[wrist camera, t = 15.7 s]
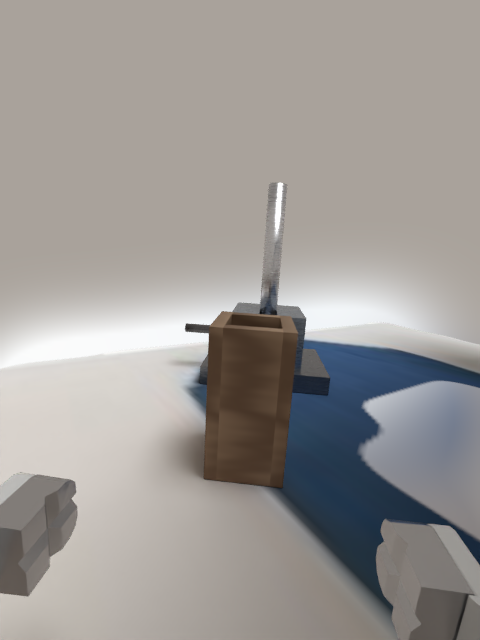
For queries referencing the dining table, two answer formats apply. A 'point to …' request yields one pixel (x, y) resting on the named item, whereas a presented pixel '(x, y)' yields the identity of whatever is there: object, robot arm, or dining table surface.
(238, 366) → the walnut sleeve
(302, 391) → the vise
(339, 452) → the dining table surface
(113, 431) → the dining table surface
